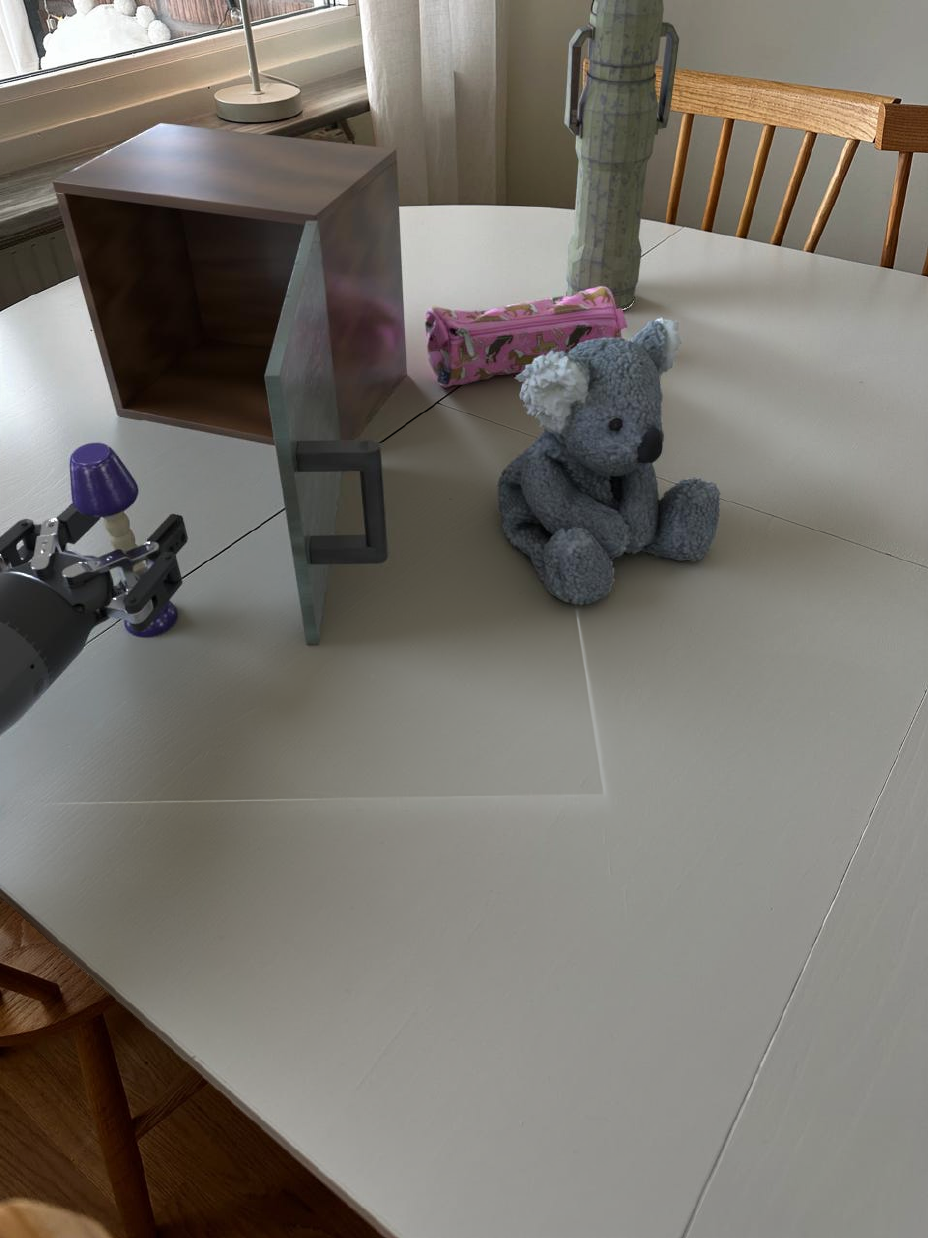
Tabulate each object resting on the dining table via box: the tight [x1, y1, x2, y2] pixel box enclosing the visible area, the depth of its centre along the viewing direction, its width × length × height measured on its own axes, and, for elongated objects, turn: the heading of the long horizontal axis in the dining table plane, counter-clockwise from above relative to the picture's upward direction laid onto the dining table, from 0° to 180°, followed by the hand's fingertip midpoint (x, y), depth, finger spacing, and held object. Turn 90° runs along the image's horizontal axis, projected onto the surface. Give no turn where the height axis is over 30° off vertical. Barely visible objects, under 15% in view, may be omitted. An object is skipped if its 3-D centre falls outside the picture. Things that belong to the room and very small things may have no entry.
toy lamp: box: [69, 442, 179, 638], centre depth 74 cm, size 5×5×17 cm
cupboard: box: [51, 122, 408, 447], centre depth 99 cm, size 18×26×24 cm
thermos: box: [563, 0, 680, 309], centre depth 112 cm, size 9×12×35 cm
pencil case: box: [424, 286, 628, 388], centre depth 107 cm, size 21×9×9 cm, turn 105°
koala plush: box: [496, 315, 721, 606], centre depth 82 cm, size 17×18×20 cm
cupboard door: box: [264, 221, 389, 646], centre depth 79 cm, size 7×26×24 cm, turn 1°
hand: (136, 514), depth 75 cm, fingers open, 7 cm apart
